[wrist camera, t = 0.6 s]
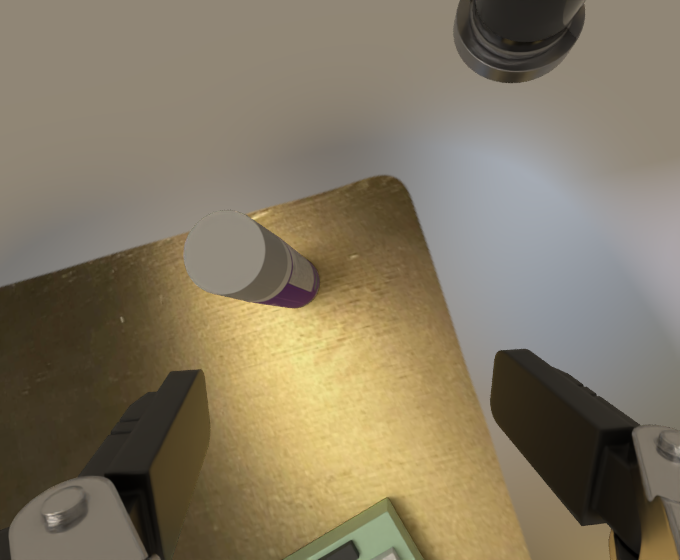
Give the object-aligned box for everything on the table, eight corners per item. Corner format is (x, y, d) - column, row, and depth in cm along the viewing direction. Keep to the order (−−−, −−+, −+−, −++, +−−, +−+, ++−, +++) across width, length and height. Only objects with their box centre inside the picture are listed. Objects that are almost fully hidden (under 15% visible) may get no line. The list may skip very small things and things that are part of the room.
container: (272, 311, 34) (183, 303, 19) (267, 260, 35) (177, 215, 20) (322, 304, 34) (272, 290, 19) (316, 253, 34) (263, 200, 19)
